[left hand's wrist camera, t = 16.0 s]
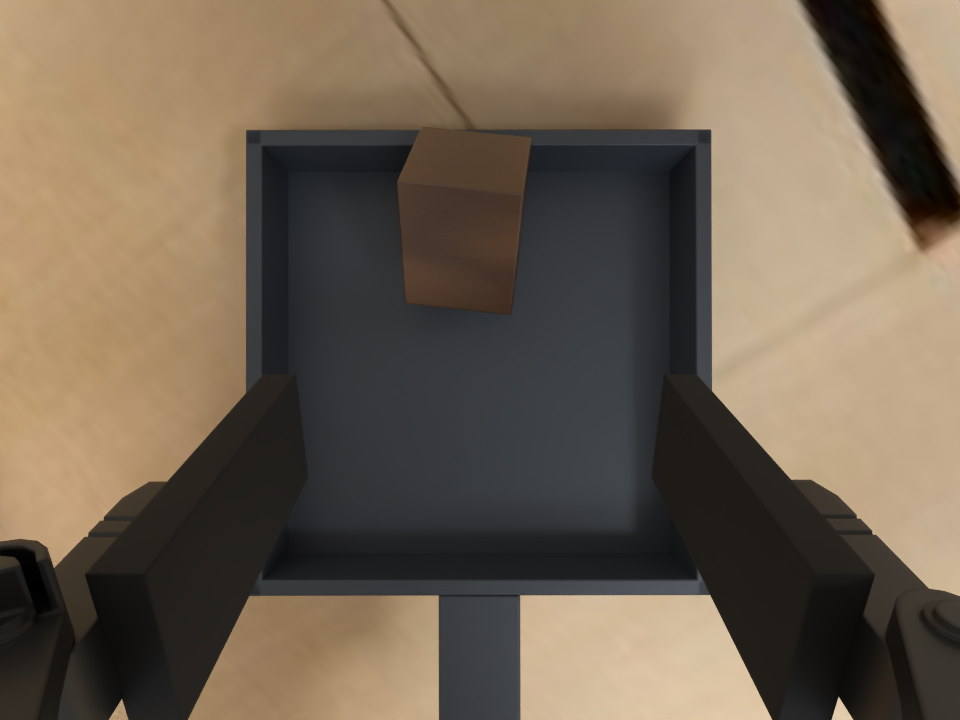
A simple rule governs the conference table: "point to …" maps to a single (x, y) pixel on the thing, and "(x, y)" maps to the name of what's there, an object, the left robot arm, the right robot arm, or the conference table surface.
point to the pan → (480, 384)
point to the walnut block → (463, 219)
